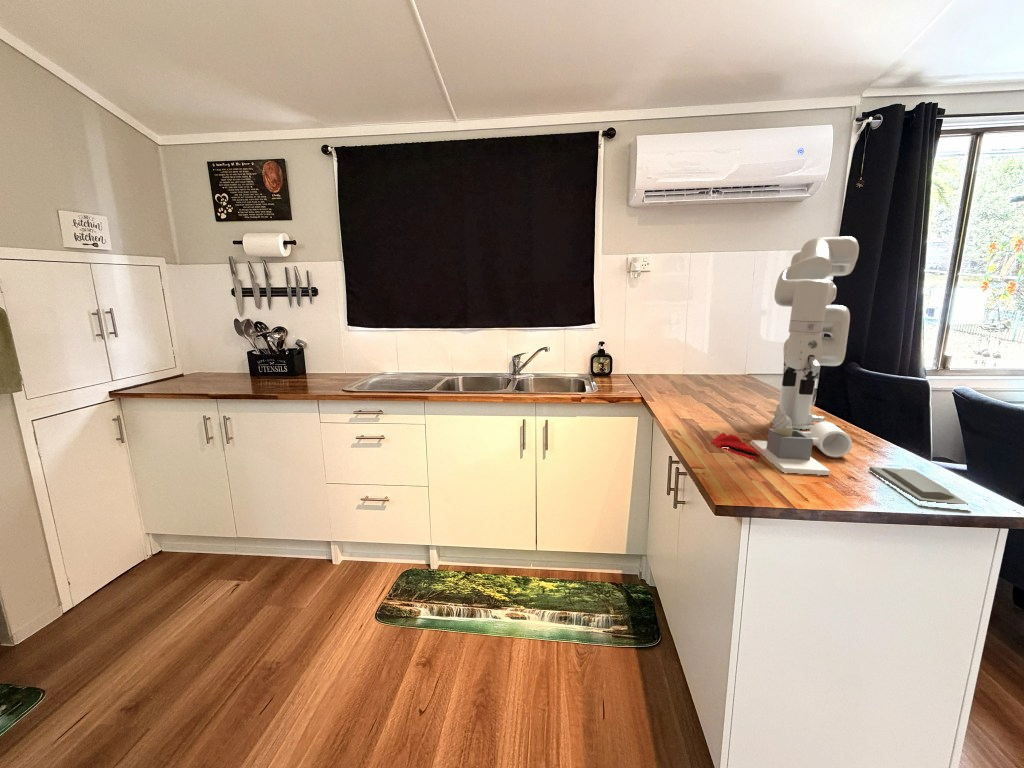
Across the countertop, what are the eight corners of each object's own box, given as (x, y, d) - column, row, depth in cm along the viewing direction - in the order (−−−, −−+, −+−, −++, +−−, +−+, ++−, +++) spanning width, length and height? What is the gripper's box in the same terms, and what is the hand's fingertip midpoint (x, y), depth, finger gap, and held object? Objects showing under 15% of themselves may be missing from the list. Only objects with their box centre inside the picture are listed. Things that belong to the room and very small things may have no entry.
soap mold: (913, 477, 115) (915, 464, 114) (971, 514, 96) (975, 499, 95) (867, 473, 117) (870, 460, 116) (915, 508, 98) (918, 493, 97)
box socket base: (789, 446, 135) (792, 423, 133) (829, 476, 114) (833, 448, 112) (751, 444, 136) (754, 421, 135) (783, 473, 115) (787, 445, 114)
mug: (836, 447, 135) (840, 422, 133) (850, 459, 126) (854, 432, 124) (791, 443, 138) (795, 418, 137) (801, 454, 129) (805, 428, 127)
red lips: (705, 432, 150) (706, 426, 150) (750, 437, 146) (751, 430, 146) (715, 460, 126) (716, 452, 125) (769, 466, 122) (770, 458, 121)
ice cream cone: (773, 453, 127) (764, 404, 125) (790, 448, 127) (780, 399, 125) (785, 458, 122) (776, 407, 120) (802, 453, 122) (793, 402, 120)
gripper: (839, 331, 109) (828, 398, 112) (804, 324, 125) (796, 383, 129) (806, 330, 110) (796, 397, 113) (776, 324, 126) (768, 382, 130)
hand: (796, 390), depth 121 cm, fingers open, 9 cm apart
